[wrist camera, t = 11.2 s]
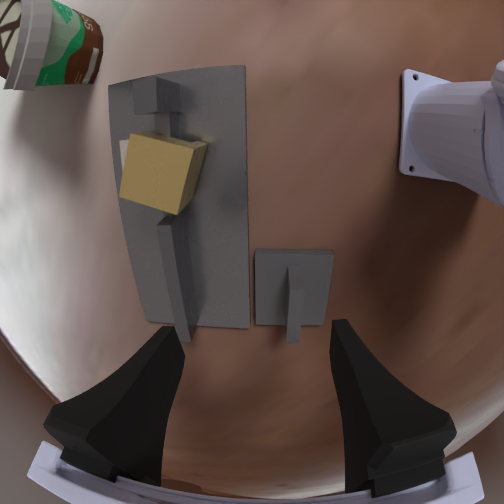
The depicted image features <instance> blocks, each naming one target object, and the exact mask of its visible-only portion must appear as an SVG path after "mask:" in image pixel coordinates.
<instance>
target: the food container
mask: <svg viewBox="0 0 504 504" xmlns="http://www.w3.org/2000/svg"><path fill="white" fill-rule="evenodd" d="M102 55H103V35H102V32H101V29H100V26H99V25H98V24H97V23H96V22H95V21H94V20H93V19H91V18H90V17H88V16H86V15H84V14H82V13H80V12H78V11H76V10H74V9H72V8H69V7H67V6H65V5H63V4H61V3H59V2H56V1H54V0H0V76H1V77H3V78H4V79H6V82H5V85H4V88H3V89H13V90H34V87H35V86H43V85H59V84H93V81H94V79H95V77H96V75H97V73H98V71H99V67H100V63H101V59H102Z"/></svg>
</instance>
